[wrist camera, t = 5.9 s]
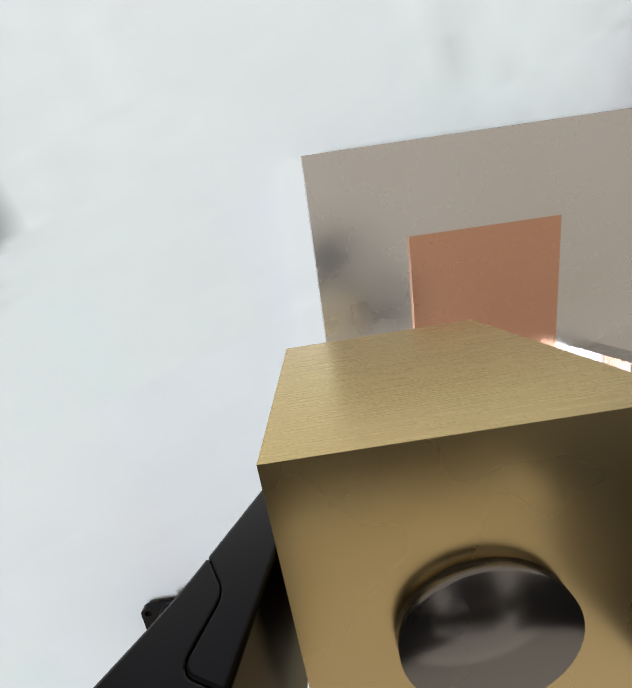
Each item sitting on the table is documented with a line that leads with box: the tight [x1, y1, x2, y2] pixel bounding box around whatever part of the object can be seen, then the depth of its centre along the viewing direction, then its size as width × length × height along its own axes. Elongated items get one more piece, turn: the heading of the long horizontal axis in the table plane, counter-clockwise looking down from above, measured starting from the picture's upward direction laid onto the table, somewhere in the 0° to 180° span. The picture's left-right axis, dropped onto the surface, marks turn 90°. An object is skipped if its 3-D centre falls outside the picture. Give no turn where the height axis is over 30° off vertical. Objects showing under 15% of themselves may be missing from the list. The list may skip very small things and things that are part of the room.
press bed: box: [301, 108, 632, 372], centre depth 17 cm, size 26×18×4 cm
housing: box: [257, 319, 632, 688], centre depth 6 cm, size 6×5×5 cm
